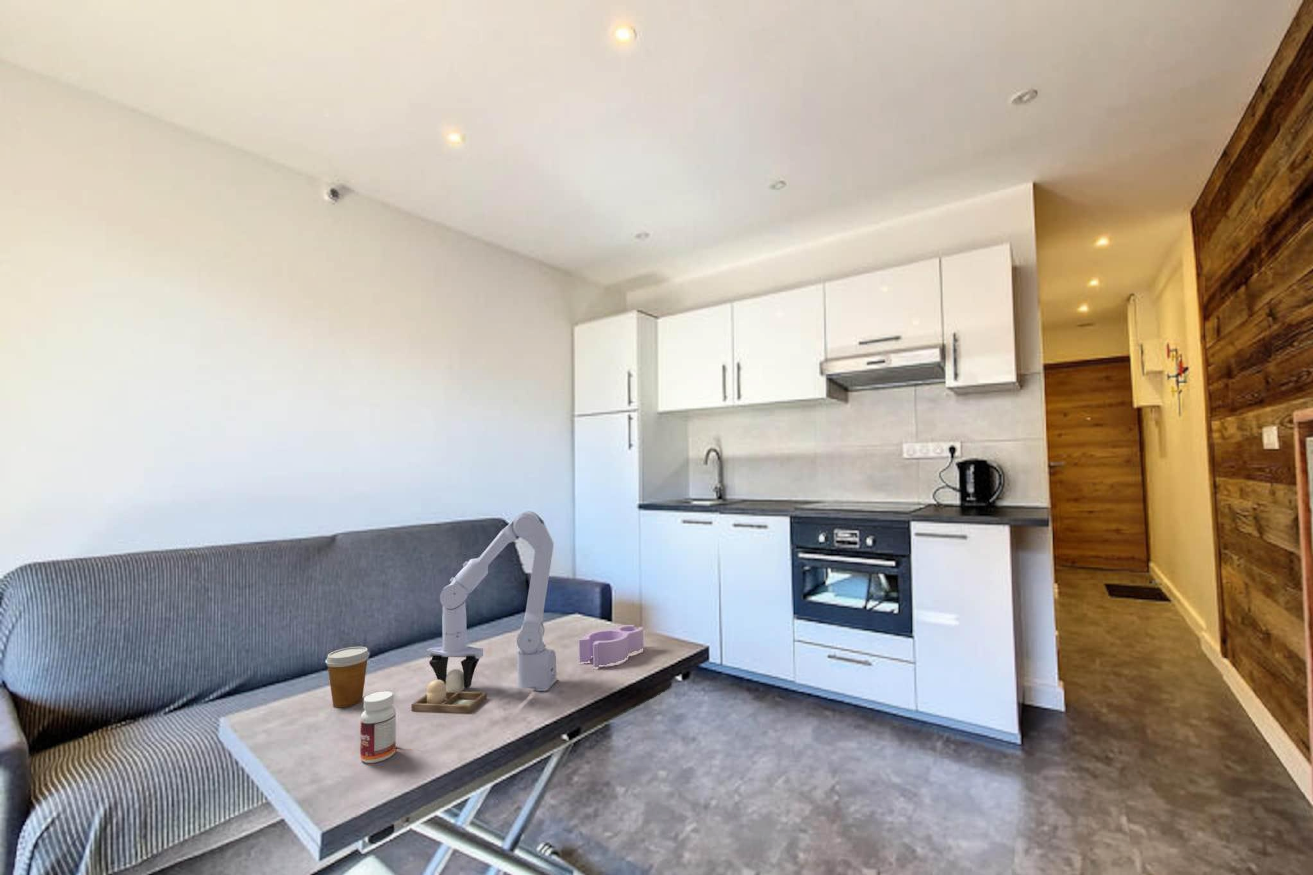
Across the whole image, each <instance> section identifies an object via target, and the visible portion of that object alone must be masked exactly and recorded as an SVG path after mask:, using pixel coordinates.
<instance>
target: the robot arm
mask: <svg viewBox="0 0 1313 875" xmlns="http://www.w3.org/2000/svg"><path fill="white" fill-rule="evenodd" d="M520 538H521V539H522V540H524V541H525V542H527V543H528V544H529V545H530V547H531V548H532V549H533V550H534V556H533V563H532V568H531V575H530V582H529V587H528V594H527V600H526V601H527V602H526V607H525V613H524V618H523V623H522V625H521V627H520V631H519V633H518V635H517V638H516V644H517V648H516V659H517V660H516V662H517V663H516V664H517V665H516V666H517V670H516V671H517V685H518V686H519V687H521V688H524V689H529V688H533V692H535V691H537V692H539V691H540V692H546V691H548V690H549V689H550V688H552V686H553V685H554V683H556V682H557V681H558V680H559V678H558V677H557V655H556V652H555V650H554V649H549V648H547V647H546V644H545V643H544V642H543V637H544V635H545V625H544V622H543V621H544V620H543V619H544V610H545V604H546V597H547V590H548V583H549V578H550V571H551V565H552V558H553V551H554V541H553V538H552V536H551V535H550V533H549V530H548V528H547V526H546V523H545V522H544V520H543V519H542V518H541V517H540V516H539V515H538V514H537V513H536V512H535V511H524V512H522V513H521V514H519V515H518V516H516V517H515V518H514V520H513V521H511V522H510V523H509V524H508V525H507V526H505V527H504V528H503V529H501V530H500V531H499V533H498V534H497V536H496V537H495V538H494V539H493V541H491V542H490V544H489V545H488V547H486V549H485V550H484V551H483V552H482V553H481V555H480V556H479V557H477V558H471V559H469V560H468V561H467V560H466V561H465V562H463V564H462V567H463V568H462V569H461V570H459V572H458V573H457V574H456V575H455V577H454V576H452V577H451V578H450V579H449V582H450V584H448V585H446V586H444V587H443V589H442V591H441V592H440V594H439V602H440V604H441V605H442V614H441V615H442V619H441V620H442V622H441V623H442V624H441V625H442V629H441V630H442V646H437V647H436V646H435V647H430V648H428V649H426V658H431V659H430V660H429V662H428V663H429V666H430V667H431V669H432V670H433V672H434V675H435V676H436V680H442V681H443V682H444V683H445V685H446V676H447V674H448V673H447V672H448V662H449V658H465V659H463V660H461V661H460V664H461V666H462V668H461V669H462V672H463V674H464V689H469V688H470V687H471V686H472V683H473V676H474V674H475V669H476V668H477V665H478V663H479V661H480V659H481V658H483V656H484V648H480V647H474V646H473V647H472V646H468V645H467V644H468V642H467V641H468V640H467V636H468V635H467V611H466V609H467V608H466V607H467V606H466V600H467V599H468V597H469V593H470V594H471V593H472V592H473V591H474V589H475V588H477V586H478V585H479V584H480V583H481V582H482V580H483V579H484V578H486V577H487V575H488V574H489V565H490V564H491V563H492V561H494V559H495V558H496V557H497V556H498V555H499V554H500V553H501V552H502V551H503V550H504V549H505V547H507V546H508V545H509V543H513V542H517V541H518V540H519V539H520Z"/></svg>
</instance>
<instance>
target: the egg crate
mask: <svg viewBox="0 0 1313 875" xmlns="http://www.w3.org/2000/svg"><path fill="white" fill-rule="evenodd" d="M486 700H488V692H483V691H482V692H481V691H480V692H479V691H459V692H457V691H446V701H444V702H443V703H442V704H427V693H426V694H425V695H423V696H421V697H420V698H419V699H417V700H415V701H414V702H413V703H412V704H410V705H411V712H424V713H425V712H426V713H447V714H449V713H450V714H469V715H470V714H471V713H472V712H474V711H475V710H476V709H477V708H478V707H479V706H481V704H483V703H484V702H485V701H486Z"/></svg>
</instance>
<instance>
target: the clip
mask: <svg viewBox="0 0 1313 875" xmlns="http://www.w3.org/2000/svg"><path fill="white" fill-rule="evenodd" d="M643 647H644V628H643V626H639V627H638V628H637V629H635V624H626V625H620V626H618V627H616V628H612V629H602V630H596V631H593V632H589V633H587V634H586V635H585V636H584V637H583V638H579V639H578V663H579V662H580V663H581V662H588V661H591V662H592V659H593V668H594V667H599V665H607V664H610V663H616V662H618V661H621V660H624V659H625V658H627V656H628V654H629V653H632V652H634V651H639V650H640V649H642V648H643ZM644 648H645V647H644ZM591 656H593V658H592V659H591Z"/></svg>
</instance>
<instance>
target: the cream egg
mask: <svg viewBox="0 0 1313 875" xmlns="http://www.w3.org/2000/svg"><path fill="white" fill-rule="evenodd" d="M463 690H465V688H464V674H463V670H461V669H459V668H455V669H452V670H450V671H449V672H448V673H447V676H446V691H457V692H463Z"/></svg>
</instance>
